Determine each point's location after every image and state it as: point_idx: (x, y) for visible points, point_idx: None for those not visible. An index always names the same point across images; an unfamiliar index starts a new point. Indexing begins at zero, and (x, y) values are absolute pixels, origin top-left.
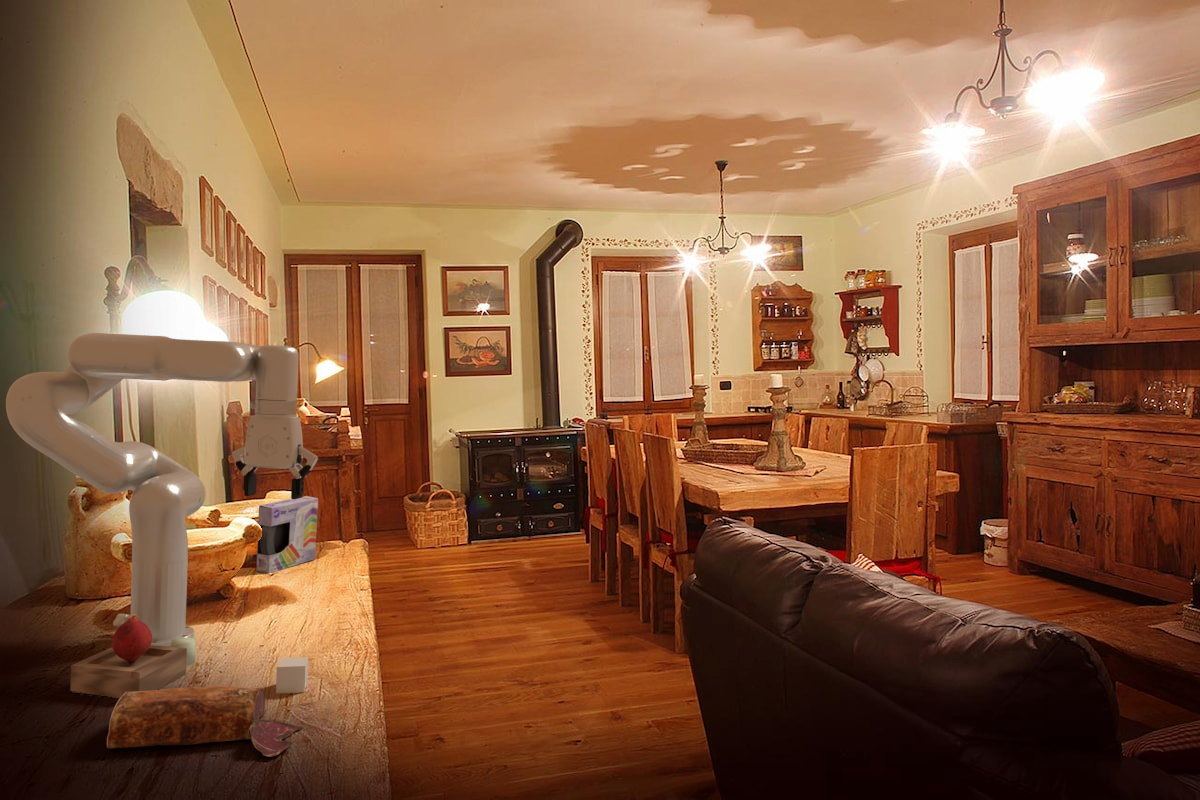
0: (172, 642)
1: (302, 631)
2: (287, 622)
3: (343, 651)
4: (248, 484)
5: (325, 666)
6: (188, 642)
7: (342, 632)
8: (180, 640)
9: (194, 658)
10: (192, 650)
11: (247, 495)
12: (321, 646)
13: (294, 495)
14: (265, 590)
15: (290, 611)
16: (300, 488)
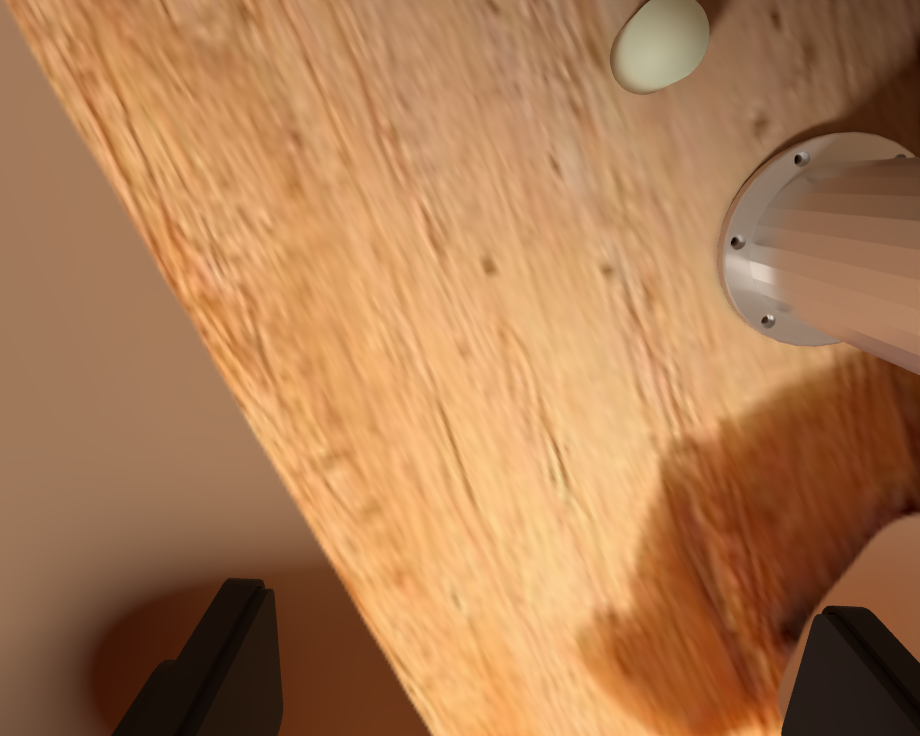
0: (697, 8)
1: (437, 411)
2: (516, 475)
3: (239, 274)
4: (916, 733)
5: (219, 133)
6: (642, 23)
7: (325, 429)
8: (680, 39)
9: (613, 60)
10: (621, 38)
11: (828, 616)
12: (320, 300)
13: (211, 605)
14: (705, 714)
15: (553, 564)
16: (126, 726)
